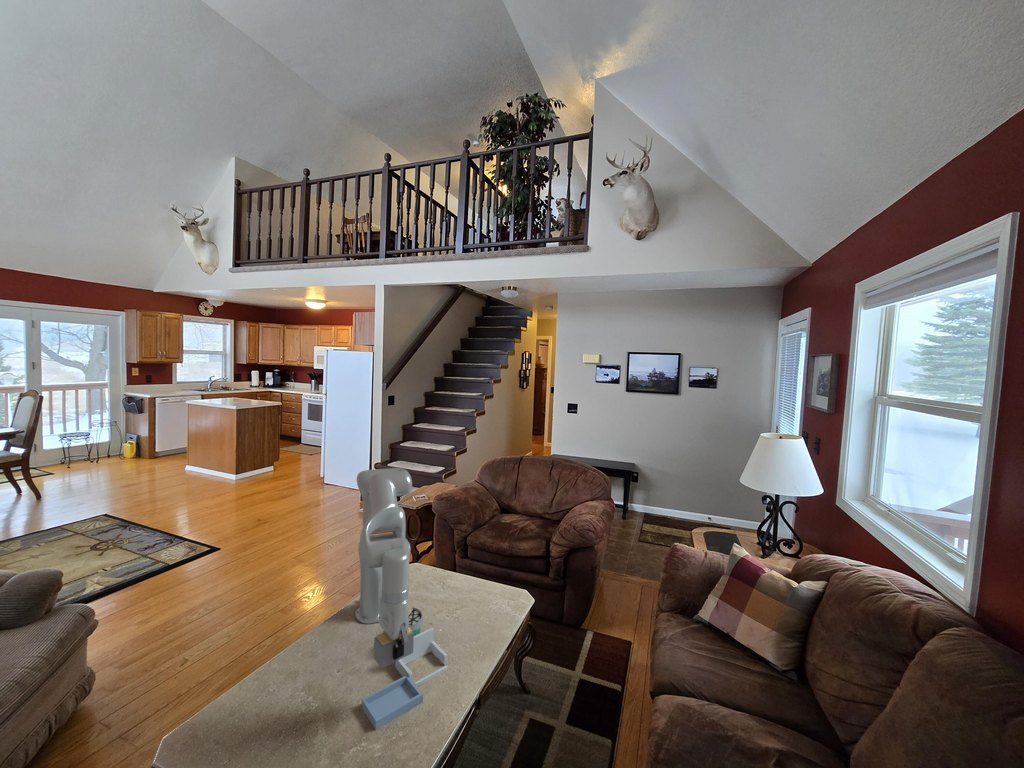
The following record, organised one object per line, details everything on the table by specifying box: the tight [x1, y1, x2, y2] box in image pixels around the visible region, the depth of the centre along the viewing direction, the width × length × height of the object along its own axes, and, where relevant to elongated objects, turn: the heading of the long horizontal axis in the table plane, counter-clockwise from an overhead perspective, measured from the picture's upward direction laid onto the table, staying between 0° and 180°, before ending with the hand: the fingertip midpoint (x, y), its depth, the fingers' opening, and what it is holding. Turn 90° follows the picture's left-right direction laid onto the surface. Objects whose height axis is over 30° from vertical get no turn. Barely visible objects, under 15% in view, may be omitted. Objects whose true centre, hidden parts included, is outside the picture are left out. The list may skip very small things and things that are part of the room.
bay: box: [394, 627, 449, 688], centre depth 144 cm, size 12×14×8 cm
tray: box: [361, 675, 424, 731], centre depth 129 cm, size 10×15×3 cm, turn 132°
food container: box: [408, 606, 424, 636], centre depth 154 cm, size 12×6×10 cm, turn 168°
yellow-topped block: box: [373, 627, 414, 669], centre depth 128 cm, size 5×10×7 cm, turn 132°
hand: (393, 650), depth 128 cm, fingers closed on yellow-topped block, 5 cm apart
